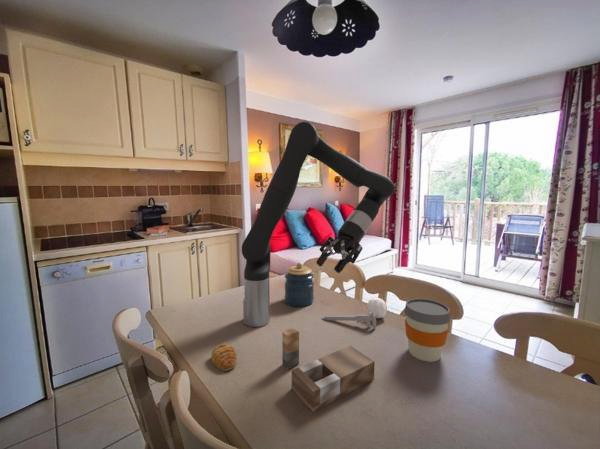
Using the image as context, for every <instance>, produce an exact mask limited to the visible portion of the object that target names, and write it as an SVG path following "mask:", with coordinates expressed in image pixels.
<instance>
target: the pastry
mask: <svg viewBox="0 0 600 449" xmlns="http://www.w3.org/2000/svg"><path fill="white" fill-rule="evenodd" d="M210 359H211V360H210V361H211V362H212V364H213V365H214V366H215V367H216V368H217V369H219V370H220V371H223V372H228V371H230V370H233V369H234V368H235V367H236V365H237V353H236V351H235V349H234V347H233V346H232V345H229V344H227V343H221V344H219V345H217V346H216V347H214V349H213V350H212V352H211V355H210Z"/></svg>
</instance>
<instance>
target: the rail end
mask: <svg viewBox="0 0 600 449" xmlns="http://www.w3.org/2000/svg"><path fill="white" fill-rule="evenodd" d="M281 333H282V334H281V336H282V338H281V339H282V342H281V344H282V350H281V351H282V365H283V367H284V368H285V369H286V370H288V369H290V368H293V367H296V366H298V365H299V364H300V331H299V330H298V329H297V328H296V327H292V328H289V329H286V330H282V331H281Z"/></svg>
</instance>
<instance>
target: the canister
mask: <svg viewBox="0 0 600 449" xmlns="http://www.w3.org/2000/svg"><path fill="white" fill-rule="evenodd" d="M314 277H315V275H314V274H313V270H312V268H310V267H308V266H307V265H303V264H302V262H297V263H296V265H291V266H290V267H289V268H287V269H286V273H285V274H284V278H285V281H284V301H285V303H286V304H287V305H289V306H291V307H297V308H298V307H300V308H301V307H307V306H310V305H312V304H313V303H314V300H315V299H314V298H315V296H314V284H315V282H314Z"/></svg>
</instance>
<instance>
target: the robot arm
mask: <svg viewBox="0 0 600 449" xmlns="http://www.w3.org/2000/svg"><path fill="white" fill-rule="evenodd" d="M308 156H309V157H311V158H314V159H315V160H317V161H319V162H320V163H322V164H324V165H325V166H327V167H328V168H329V169H330V170H332V171H333V172H334V173H336V174H337V175H339V176H340V177H342V179H344V180H345V181H347V182H349V184H352V185H353V186H354V187H356V188H360V187H365V188H367V191H365V194H364V195H363V197H362V199H361V200H360V201H359V203H358V204H357V205H356V207H355V208H354V210H353V211H352V212H351V213H350V214H349V215H348V217H347V218H346V220H345V221H344V222H343V224H341V226H340V228H339V229H338V231H337V236H336V237H335V238H333V237H332V236H329V237H327V238H326V240H325V241H324V243H323V244H322V245H321V247H320V248H319V251H320V252H321V254H320V255H319V256H318V258H317V259H316V264H317V266H319V267H322V266H324V264H325V262H326V261H327V259H328V258H329V257H331V256H332V255H336V254H338V255H339V254H340V255H341V258H340V259H339V261H338V262H337V264H335V266H334V268H333V269H334V272H336V273H337V274H340V273H341V272H342V271H343V270H344V269H345V268H346V266H347V265H348V264H349V263H351V264H354V263H355V262H356V261H357V259H358V257H359V255H361V252H362V251H363V248H364V247H363V246H362V245H361V241H362V240H363V238H364V237H365V235H366V234H367V232H368V230H369V229H370V227H371V225H372V223H373V222H374V220H375V219H376V217H377V216H378V214H379V213H380V212H379V211H380V208H381V206H382V205H383V203H385V201H387V200H388V199H389V198H391V196H392V195H393V194H394V193H395V190H396V188H395V187H396V186H395V184H394V182H393V180H392V179H391V178H390V177H388V176H386V175H384V174H382V173H379V172H377V171H375V170H371V169H369V168H367V167H366V166H364V165H363V164H361V163H360V162H358V161H357V160H355V159H354V158H352V157H350V156H348V155H347V154H344V153H343V152H341V151H339V150H338V149H335V148H334V147H332V146H331V145H330V144H328V143H327V142H326V141H324V139H323V138H321V137H320V135H318V131H317V129H316V127H315V126H314V125H313V124H312V123H310V122H308V121H301V122H298V123H296V125H295V126H293V128H292V129H291V130H290V134H289V136H288V139H287V143H286V146H285V150H284V152H283V155H282V158H281V160H280V162H279V164H278V166H277V168H276V169H275V172H274V174H273V176H272V178H271V180H270V182H269V184H268V186H267V188H266V190H265V193H264V196H263V198H262V201H261V203H260V206H259V208H258V211H257V215H256V218H255V220H254V222H253V225H252V226H251V228H250V230H249V232H248V233H247V236H246V237H245V239H244V240H243V242H242V243H241V255H242V257H243V258H244V259H245V266H244V270H243V276H244V277H243V281H244V283H243V286H244V288H243V289H244V298H243V300H242V306H243V307H242V309H243V311H242V312H243V315H242V316H243V325H246V326H249V327H251V328H255V327H256V328H257V327H258V328H260V327H264V326H266V325H268V324H269V323H270V319H271V317H270V316H271V315H270V313H271V312H270V309H271V308H270V270H271V243H270V241H271V238H272V235H273V233H274V230H275V229H276V227H277V225H278V224H279V222H281V219H282V218H283V216H284V214H285V213H286V211H288V210H287V209H288V207H289V205H290V203H291V201H292V199H293V197H294V195H295V192H296V189H297V187H298V186H297V185H298V182H299V177H300V174H301V172H302V171H301V170H302V168H303V165H304V163H305V161H306V159H307V158H308Z"/></svg>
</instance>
